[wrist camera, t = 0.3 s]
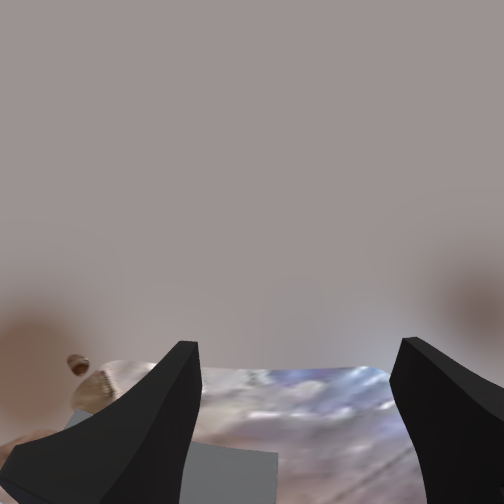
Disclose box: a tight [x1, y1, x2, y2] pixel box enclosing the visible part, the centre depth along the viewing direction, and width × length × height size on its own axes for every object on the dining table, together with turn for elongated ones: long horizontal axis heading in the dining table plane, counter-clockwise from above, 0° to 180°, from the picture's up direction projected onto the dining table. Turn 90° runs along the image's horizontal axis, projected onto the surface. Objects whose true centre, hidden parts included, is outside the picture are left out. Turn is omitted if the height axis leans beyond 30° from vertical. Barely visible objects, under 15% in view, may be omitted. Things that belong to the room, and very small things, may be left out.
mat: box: [64, 409, 278, 504], centre depth 21 cm, size 10×22×1 cm, turn 85°
